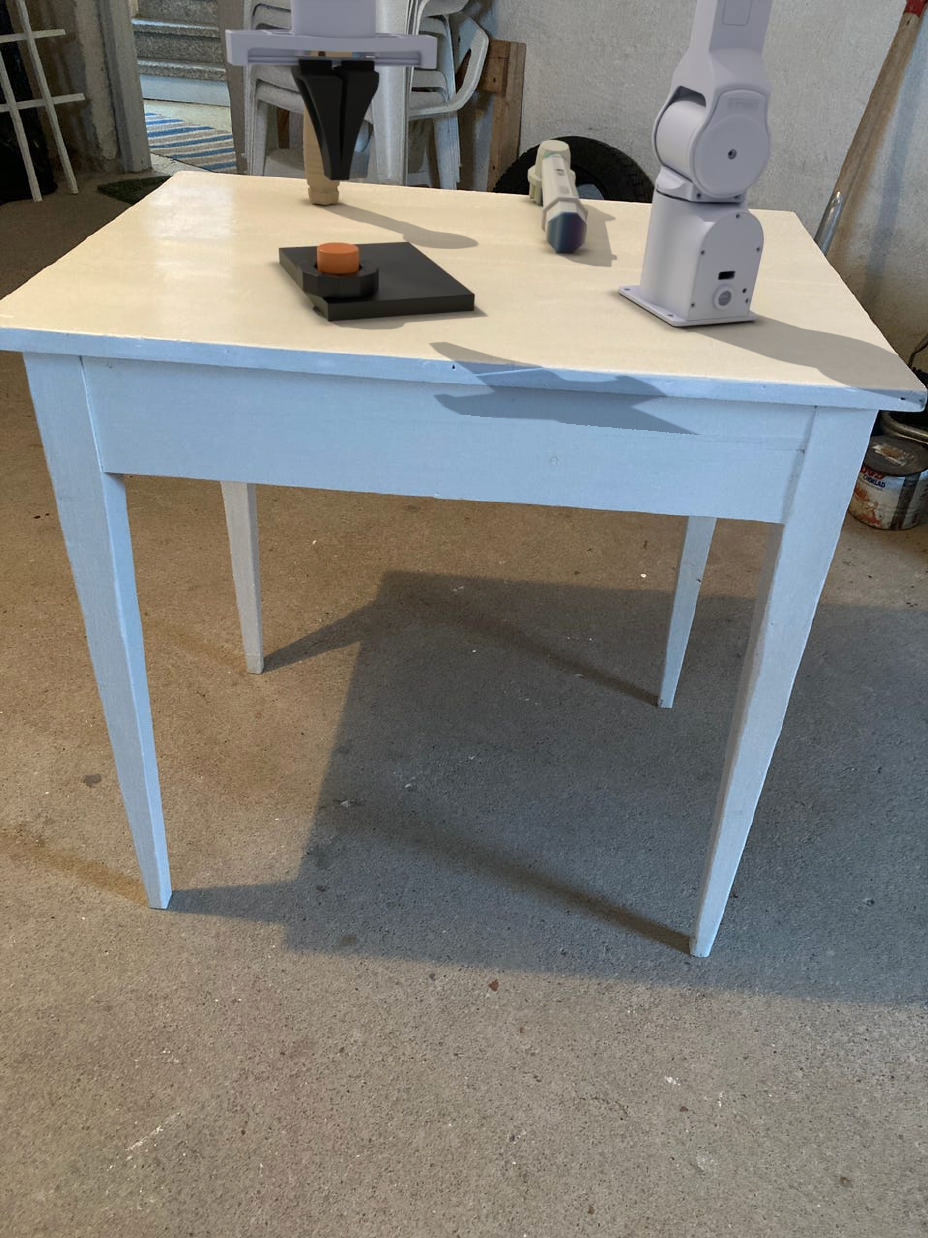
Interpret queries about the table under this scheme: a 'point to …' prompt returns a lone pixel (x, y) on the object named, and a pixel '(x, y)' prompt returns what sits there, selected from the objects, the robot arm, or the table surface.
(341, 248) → the button
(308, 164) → the handle
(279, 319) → the table surface
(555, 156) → the blue-tipped octagonal rod
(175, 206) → the table surface
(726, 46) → the robot arm
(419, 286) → the scale
